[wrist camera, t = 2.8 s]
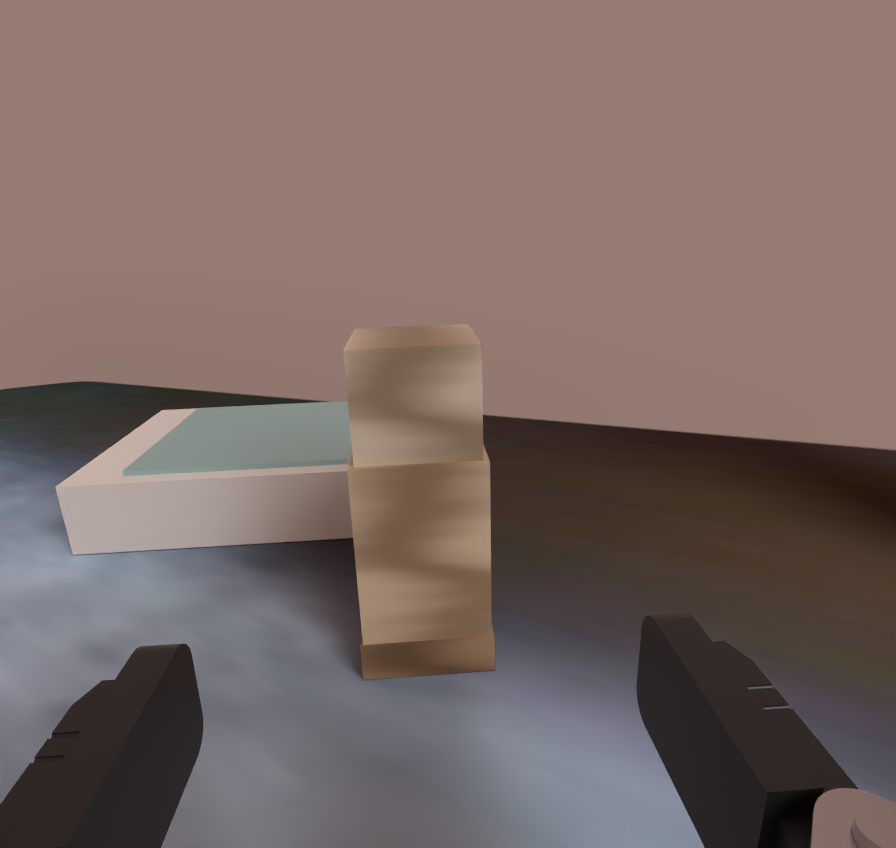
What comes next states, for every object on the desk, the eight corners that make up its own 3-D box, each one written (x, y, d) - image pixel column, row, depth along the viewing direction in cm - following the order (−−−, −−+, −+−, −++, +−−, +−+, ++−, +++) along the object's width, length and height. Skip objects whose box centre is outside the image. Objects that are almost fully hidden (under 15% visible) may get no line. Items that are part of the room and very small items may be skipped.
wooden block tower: (479, 594, 27) (474, 322, 23) (494, 670, 22) (492, 345, 18) (370, 601, 27) (347, 328, 23) (363, 680, 22) (332, 352, 18)
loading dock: (406, 447, 46) (403, 394, 45) (406, 534, 33) (402, 462, 31) (171, 460, 45) (161, 406, 44) (72, 554, 32) (54, 481, 30)
